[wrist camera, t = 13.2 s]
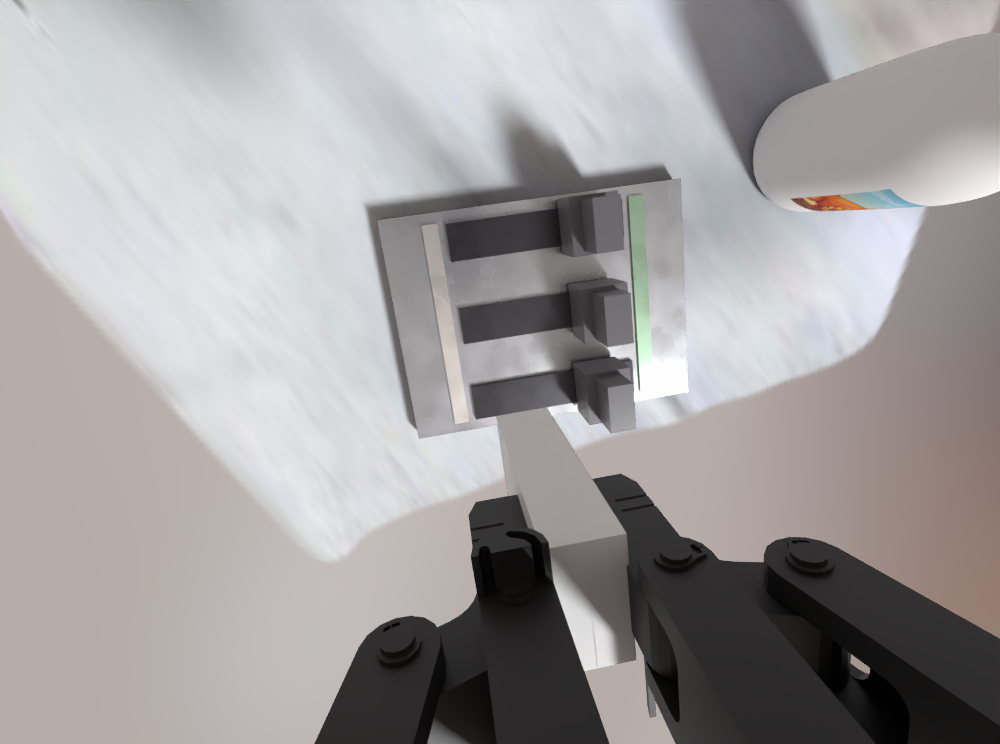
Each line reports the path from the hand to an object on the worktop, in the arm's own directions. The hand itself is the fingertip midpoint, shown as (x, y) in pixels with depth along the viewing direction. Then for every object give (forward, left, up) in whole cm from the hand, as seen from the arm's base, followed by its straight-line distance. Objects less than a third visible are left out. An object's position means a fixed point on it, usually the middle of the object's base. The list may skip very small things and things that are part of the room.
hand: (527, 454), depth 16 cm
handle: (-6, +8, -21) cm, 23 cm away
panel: (0, +5, -22) cm, 23 cm away
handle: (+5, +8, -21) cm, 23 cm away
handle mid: (0, +8, -21) cm, 22 cm away
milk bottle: (-8, +24, -23) cm, 34 cm away
